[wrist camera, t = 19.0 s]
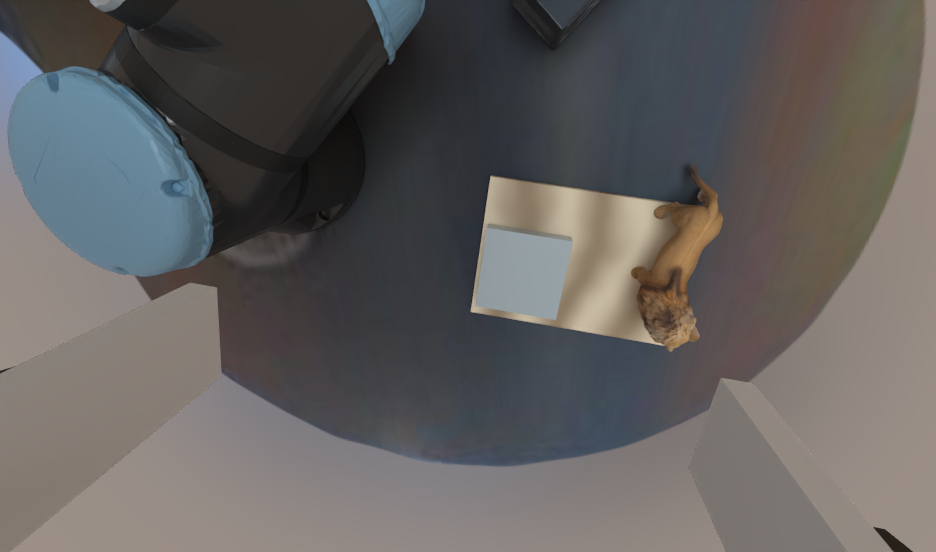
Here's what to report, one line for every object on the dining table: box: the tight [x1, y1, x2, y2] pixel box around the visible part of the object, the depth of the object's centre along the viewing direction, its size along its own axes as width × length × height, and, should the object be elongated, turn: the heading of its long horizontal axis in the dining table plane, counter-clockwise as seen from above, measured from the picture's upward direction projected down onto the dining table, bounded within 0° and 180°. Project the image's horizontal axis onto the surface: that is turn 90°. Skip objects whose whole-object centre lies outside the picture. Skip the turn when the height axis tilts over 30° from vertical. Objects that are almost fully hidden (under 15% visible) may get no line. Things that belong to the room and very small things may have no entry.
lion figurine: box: [631, 164, 723, 351], centre depth 39 cm, size 15×5×9 cm, turn 172°
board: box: [471, 175, 687, 346], centre depth 46 cm, size 20×14×1 cm
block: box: [475, 224, 573, 320], centre depth 45 cm, size 8×2×8 cm
